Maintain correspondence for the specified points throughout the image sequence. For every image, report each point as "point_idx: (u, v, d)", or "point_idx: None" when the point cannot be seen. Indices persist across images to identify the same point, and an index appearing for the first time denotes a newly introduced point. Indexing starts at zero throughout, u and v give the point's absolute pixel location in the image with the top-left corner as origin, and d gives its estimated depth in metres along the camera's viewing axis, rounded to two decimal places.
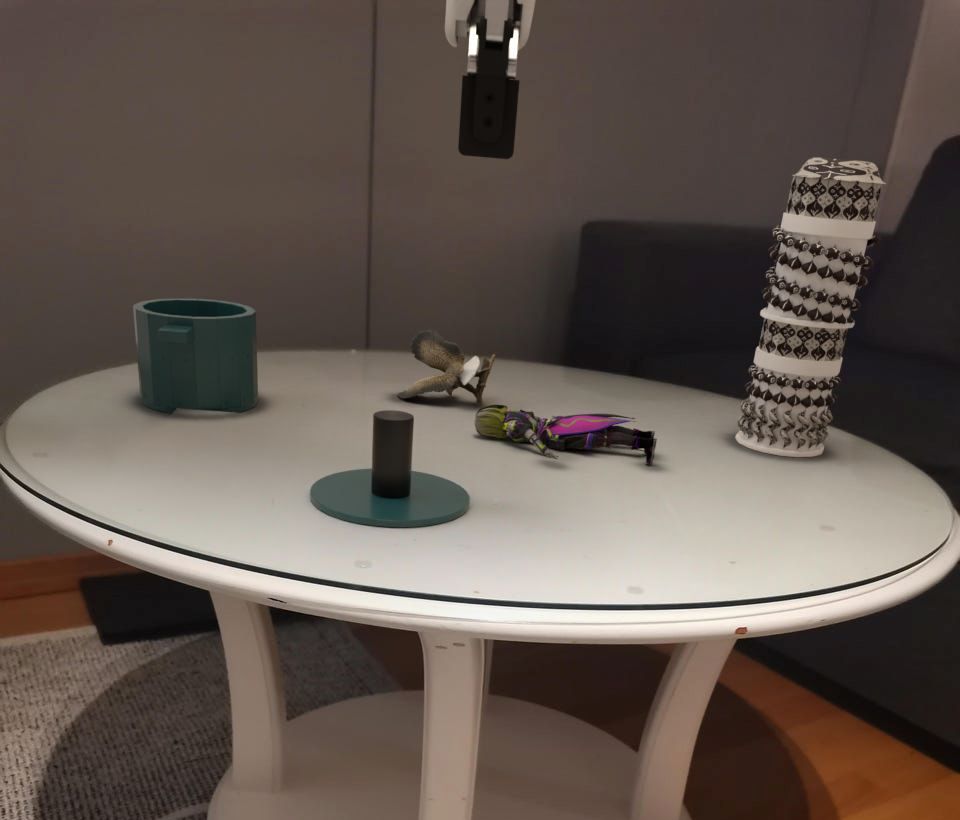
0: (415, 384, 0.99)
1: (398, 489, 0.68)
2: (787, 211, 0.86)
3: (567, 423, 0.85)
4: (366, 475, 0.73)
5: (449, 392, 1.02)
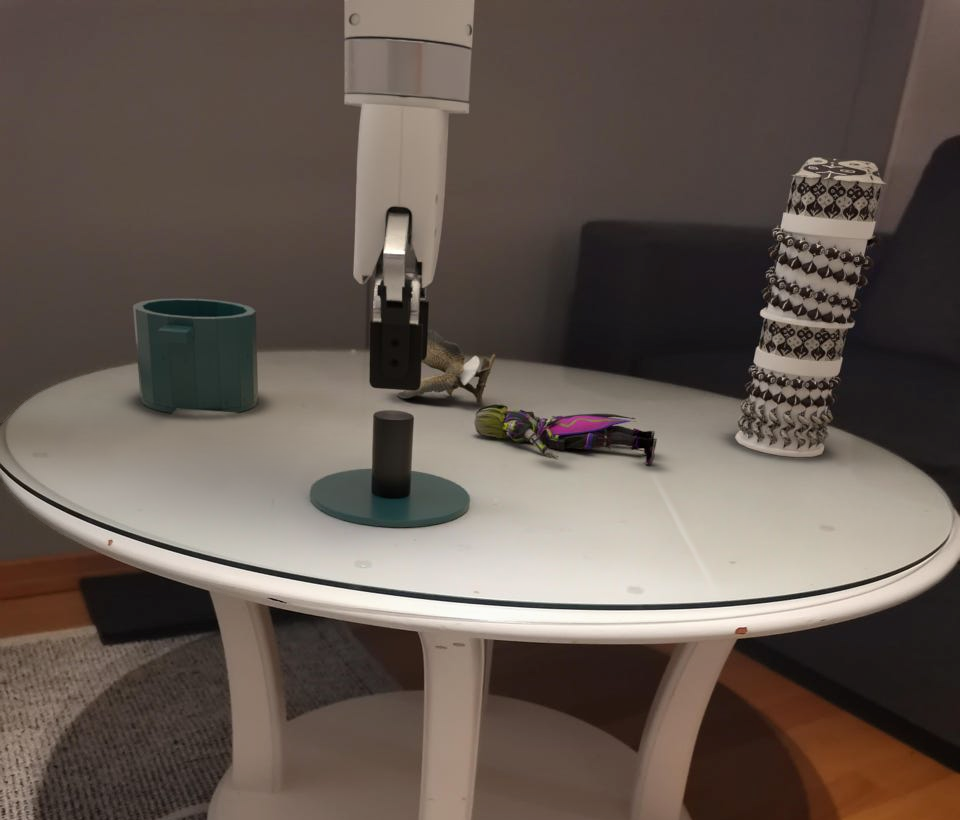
0: None
1: (398, 489, 0.68)
2: (787, 211, 0.86)
3: (567, 423, 0.85)
4: (366, 475, 0.73)
5: (449, 392, 1.02)
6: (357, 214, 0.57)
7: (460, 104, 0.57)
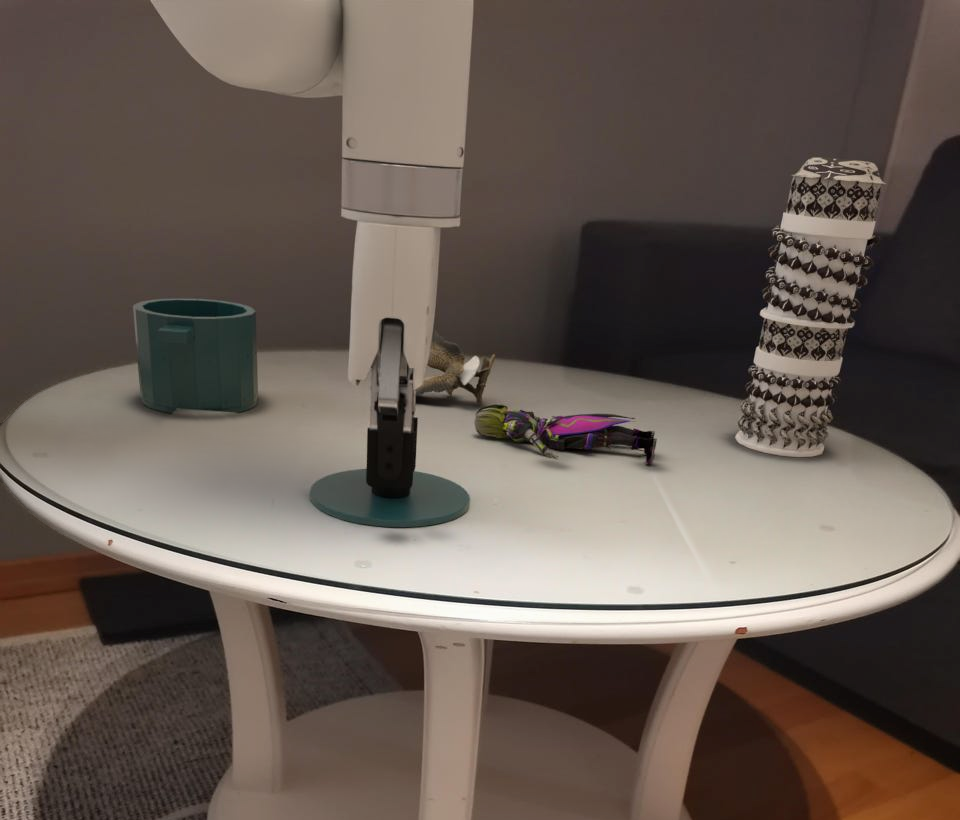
0: None
1: (398, 489, 0.68)
2: (787, 211, 0.86)
3: (567, 423, 0.85)
4: None
5: (449, 392, 1.02)
6: (352, 324, 0.60)
7: (451, 220, 0.60)
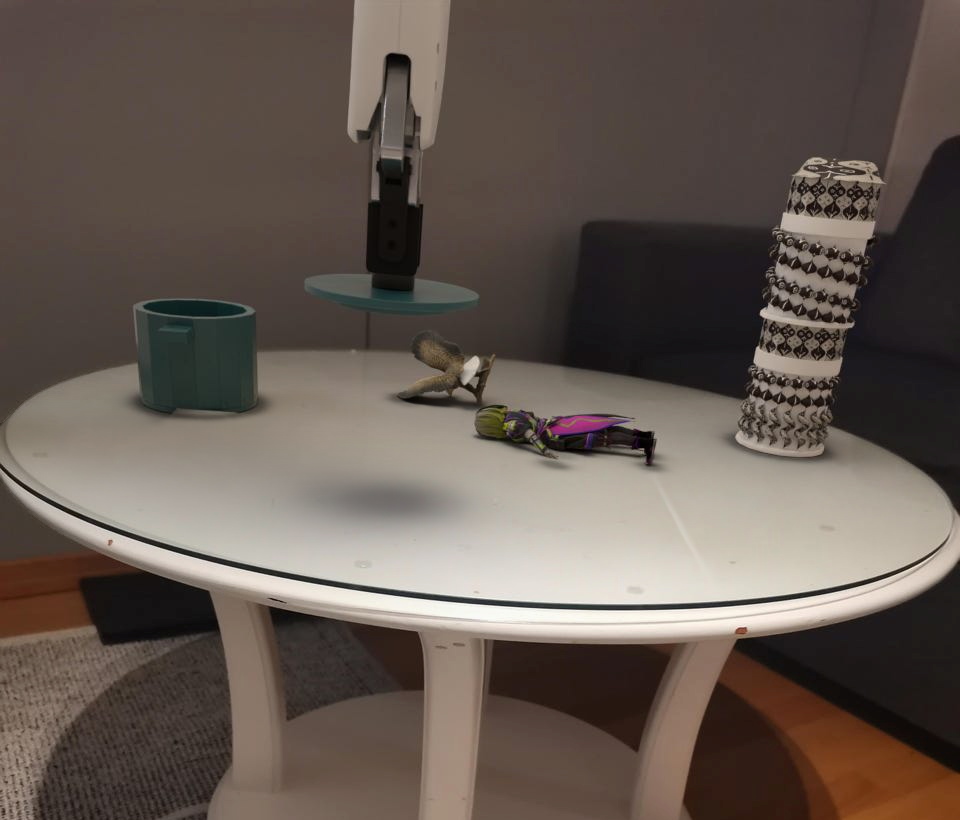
0: (415, 384, 0.99)
1: (401, 279, 0.62)
2: (787, 211, 0.86)
3: (567, 423, 0.85)
4: (366, 277, 0.67)
5: (449, 392, 1.02)
6: (353, 60, 0.54)
7: None
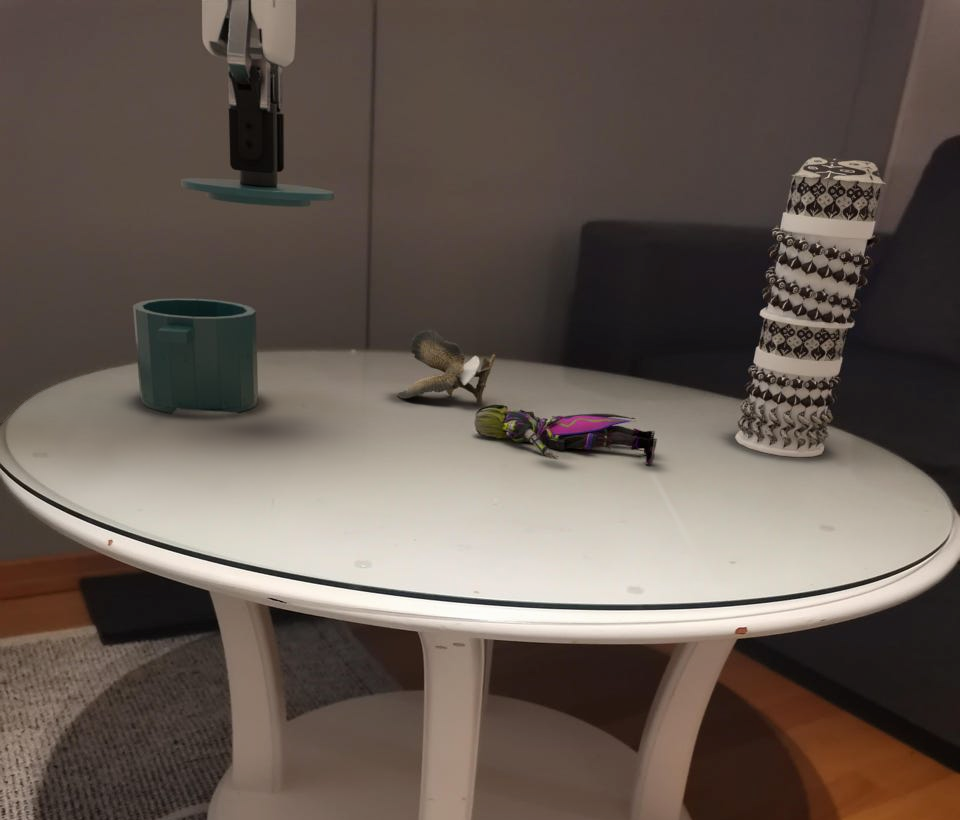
0: (415, 384, 0.99)
1: (263, 177, 0.73)
2: (787, 211, 0.86)
3: (567, 423, 0.85)
4: None
5: (449, 392, 1.02)
6: None
7: None
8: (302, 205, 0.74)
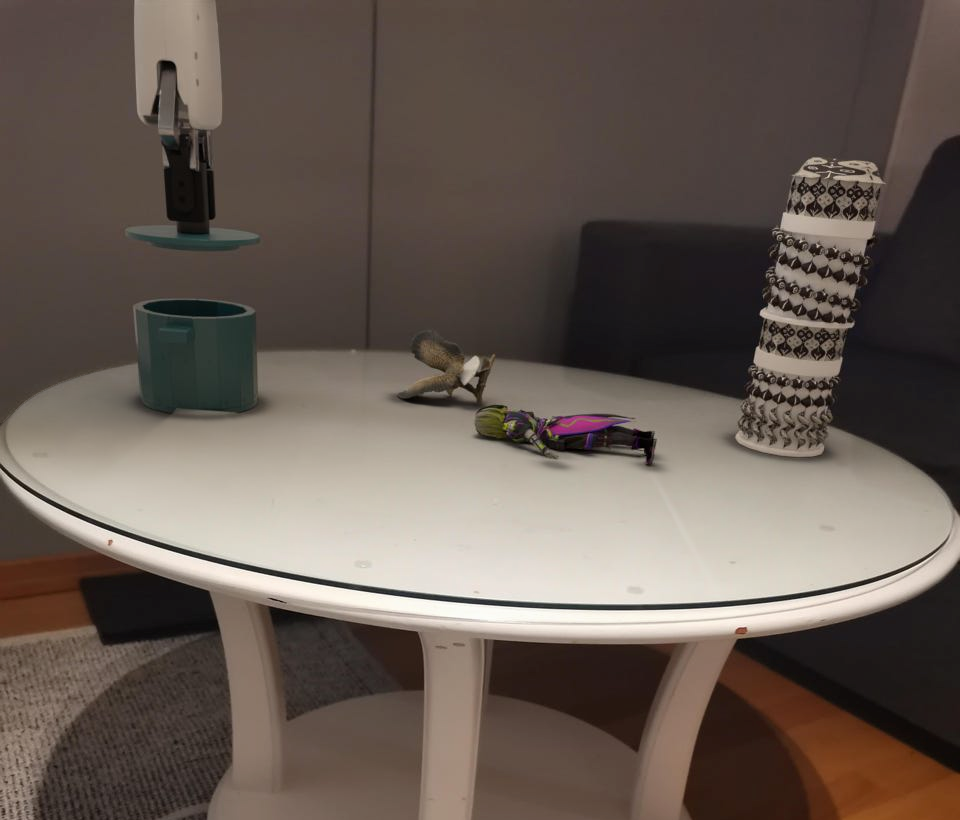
0: (415, 384, 0.99)
1: (196, 225, 0.85)
2: (787, 211, 0.86)
3: (567, 423, 0.85)
4: None
5: (449, 392, 1.02)
6: (136, 66, 0.76)
7: None
8: (231, 249, 0.85)
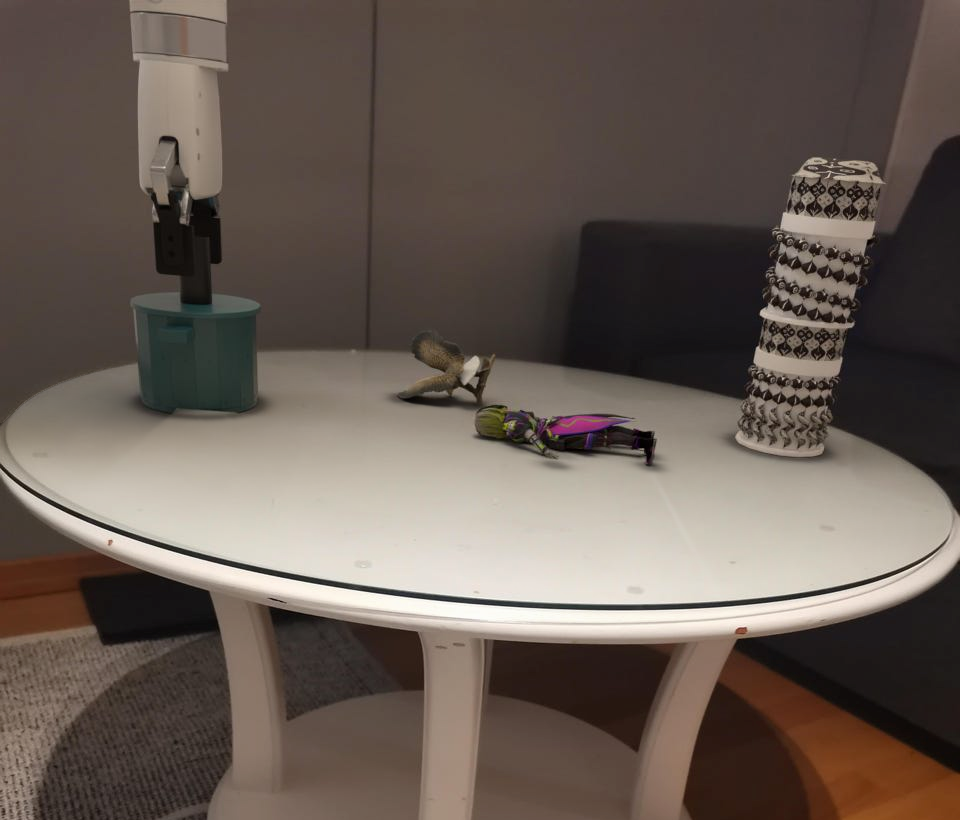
0: (415, 384, 0.99)
1: (199, 296, 0.87)
2: (787, 211, 0.86)
3: (567, 423, 0.85)
4: None
5: (449, 392, 1.02)
6: (139, 141, 0.78)
7: (215, 62, 0.78)
8: None
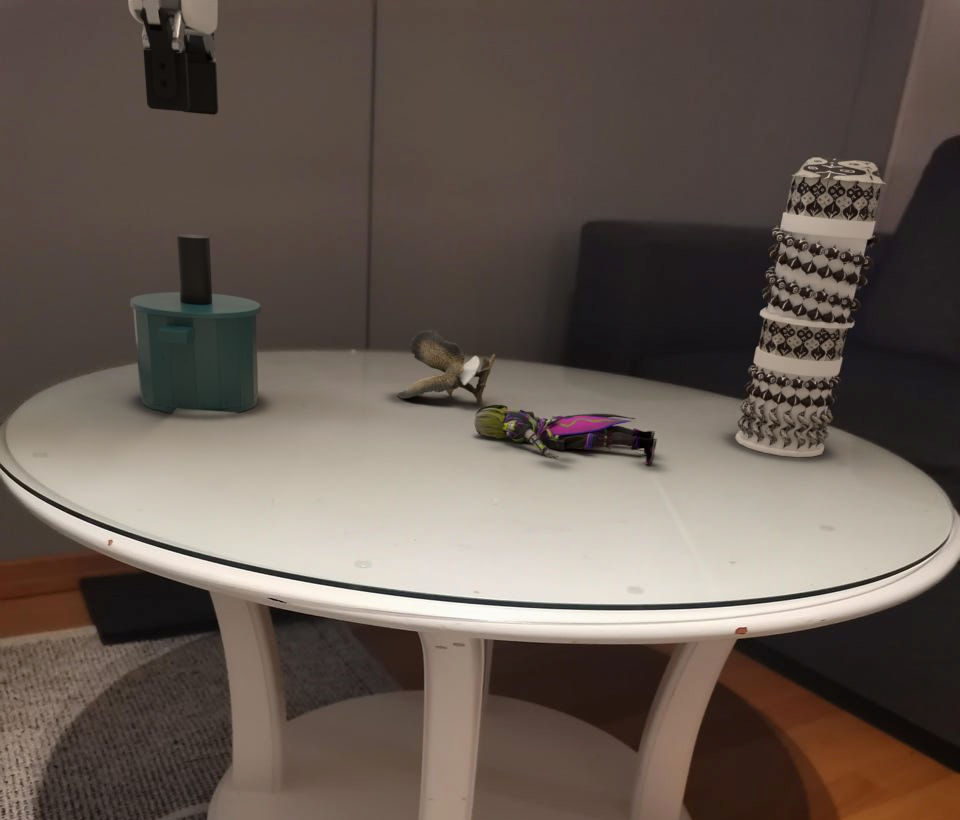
0: (415, 384, 0.99)
1: (199, 296, 0.87)
2: (787, 211, 0.86)
3: (567, 423, 0.85)
4: None
5: (449, 392, 1.02)
6: None
7: None
8: None
